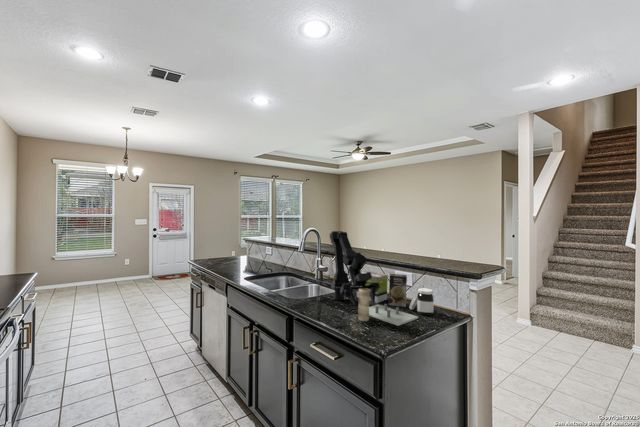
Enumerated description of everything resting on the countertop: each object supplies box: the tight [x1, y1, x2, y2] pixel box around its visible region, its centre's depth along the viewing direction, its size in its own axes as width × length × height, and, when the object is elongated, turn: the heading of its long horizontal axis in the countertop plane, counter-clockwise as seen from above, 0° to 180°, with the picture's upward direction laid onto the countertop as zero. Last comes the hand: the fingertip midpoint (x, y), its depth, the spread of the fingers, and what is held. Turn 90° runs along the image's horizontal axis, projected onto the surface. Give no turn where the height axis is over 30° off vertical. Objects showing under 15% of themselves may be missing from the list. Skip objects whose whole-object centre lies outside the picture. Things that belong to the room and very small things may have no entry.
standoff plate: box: [369, 303, 419, 327], centre depth 150 cm, size 24×16×4 cm, turn 40°
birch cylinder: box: [357, 288, 370, 322], centre depth 143 cm, size 5×5×14 cm
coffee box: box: [388, 273, 408, 308], centre depth 167 cm, size 9×6×16 cm
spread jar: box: [408, 287, 435, 316], centre depth 155 cm, size 12×11×12 cm
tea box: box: [356, 270, 388, 304], centre depth 178 cm, size 15×10×15 cm
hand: (364, 304), depth 142 cm, fingers open, 9 cm apart
